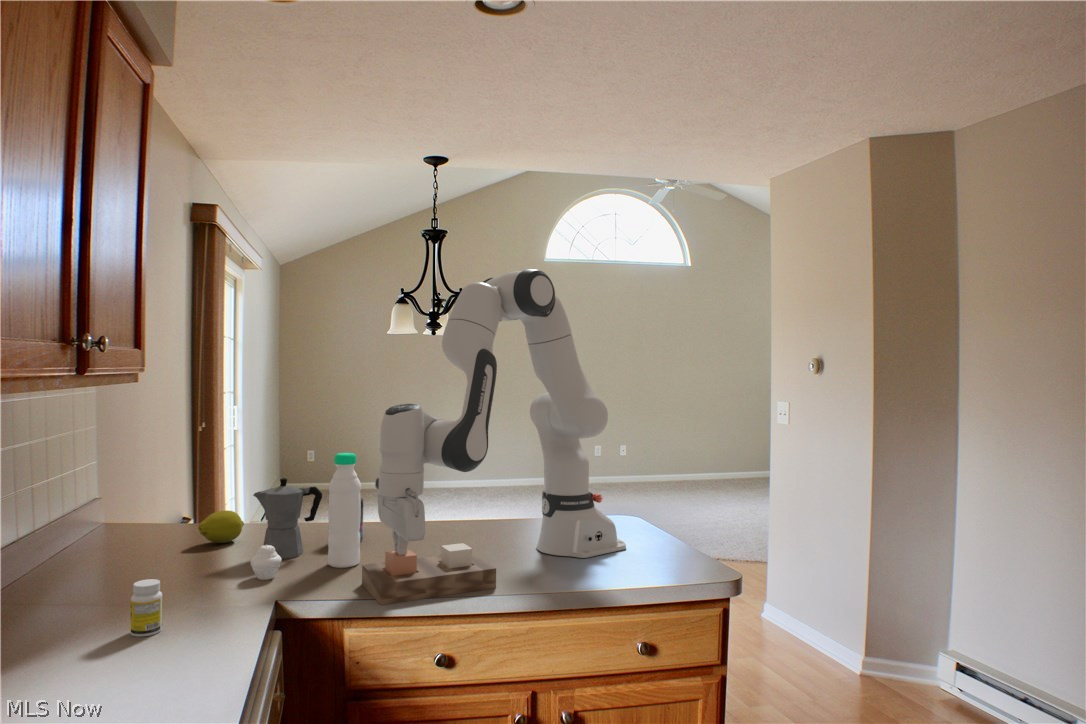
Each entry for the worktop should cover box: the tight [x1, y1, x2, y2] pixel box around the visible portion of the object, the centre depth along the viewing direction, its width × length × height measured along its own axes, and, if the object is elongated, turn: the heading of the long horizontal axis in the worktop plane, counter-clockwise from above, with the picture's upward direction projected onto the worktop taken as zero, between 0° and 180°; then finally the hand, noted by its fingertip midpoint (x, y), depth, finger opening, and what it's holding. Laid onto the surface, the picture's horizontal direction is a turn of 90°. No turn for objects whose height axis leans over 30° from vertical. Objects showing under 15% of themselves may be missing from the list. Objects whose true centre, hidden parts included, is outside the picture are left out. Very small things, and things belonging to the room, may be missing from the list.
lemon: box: [198, 510, 245, 544], centre depth 180 cm, size 11×8×8 cm
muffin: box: [250, 545, 283, 581], centre depth 153 cm, size 6×6×7 cm
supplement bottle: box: [130, 578, 163, 638], centre depth 123 cm, size 5×5×8 cm
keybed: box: [361, 552, 497, 606], centre depth 149 cm, size 24×14×4 cm, turn 118°
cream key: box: [440, 542, 473, 569], centre depth 152 cm, size 5×5×5 cm
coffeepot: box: [252, 477, 323, 560], centre depth 171 cm, size 15×9×18 cm, turn 113°
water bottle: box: [327, 452, 362, 569], centre depth 164 cm, size 7×7×25 cm
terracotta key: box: [384, 548, 418, 576], centre depth 147 cm, size 5×5×5 cm
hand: (400, 553), depth 146 cm, fingers closed, pressing on terracotta key
